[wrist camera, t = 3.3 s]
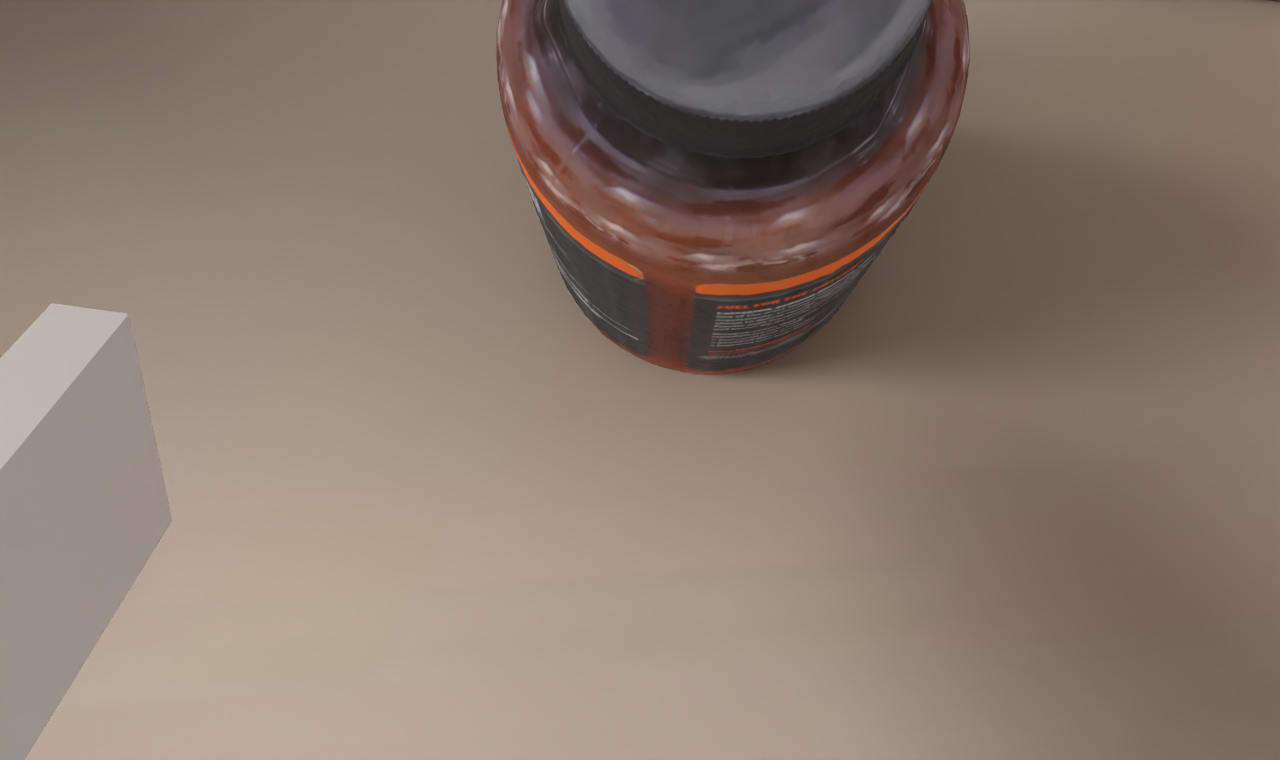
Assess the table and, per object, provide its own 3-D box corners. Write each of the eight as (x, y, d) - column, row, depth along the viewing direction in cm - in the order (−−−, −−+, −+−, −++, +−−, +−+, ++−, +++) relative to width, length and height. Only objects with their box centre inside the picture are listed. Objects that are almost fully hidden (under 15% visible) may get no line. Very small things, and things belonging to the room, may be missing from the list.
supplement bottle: (923, 211, 23) (1180, -100, 12) (724, 443, 22) (793, 350, 11) (688, 21, 23) (719, -451, 12) (489, 243, 23) (330, -39, 12)
